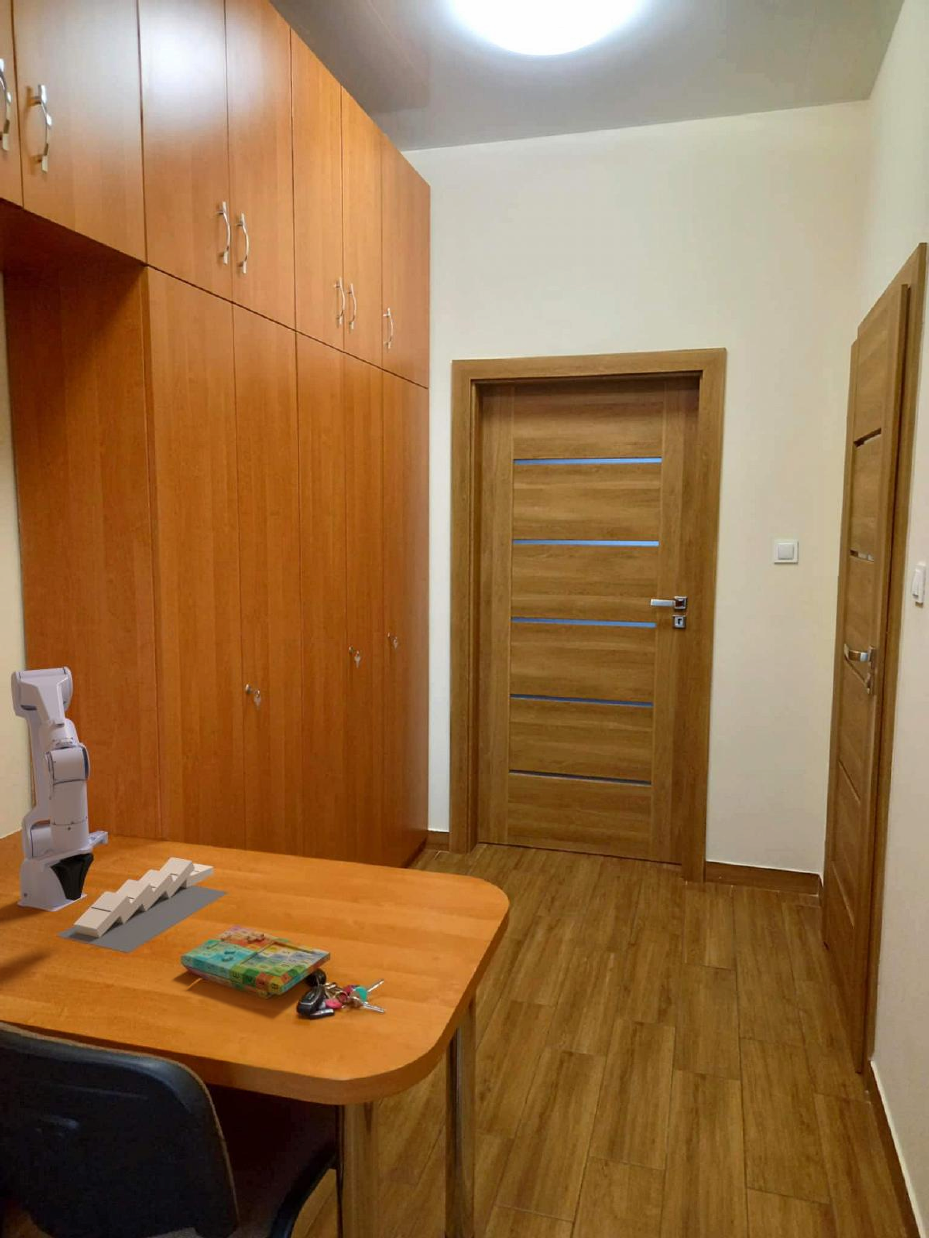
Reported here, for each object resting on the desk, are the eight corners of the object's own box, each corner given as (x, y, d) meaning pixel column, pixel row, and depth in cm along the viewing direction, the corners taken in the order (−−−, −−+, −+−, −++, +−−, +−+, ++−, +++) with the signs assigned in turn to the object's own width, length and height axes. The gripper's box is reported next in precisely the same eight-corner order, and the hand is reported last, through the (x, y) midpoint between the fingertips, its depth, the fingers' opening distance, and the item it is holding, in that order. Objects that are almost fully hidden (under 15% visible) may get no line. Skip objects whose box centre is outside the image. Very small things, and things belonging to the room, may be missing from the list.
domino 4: (166, 890, 165) (191, 860, 172) (145, 886, 167) (171, 856, 173) (169, 898, 166) (195, 868, 172) (148, 894, 168) (174, 864, 174)
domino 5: (186, 877, 170) (213, 866, 178) (166, 873, 172) (193, 862, 180) (186, 887, 170) (213, 876, 178) (165, 883, 172) (193, 873, 180)
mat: (55, 938, 151) (55, 935, 151) (162, 882, 175) (162, 879, 175) (128, 956, 145) (128, 952, 145) (228, 895, 169) (228, 892, 169)
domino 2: (120, 915, 155) (149, 883, 161) (98, 910, 157) (128, 878, 163) (124, 923, 156) (153, 891, 162) (102, 919, 157) (131, 887, 164)
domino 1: (96, 928, 150) (127, 895, 156) (73, 923, 151) (105, 890, 158) (99, 937, 150) (131, 903, 157) (77, 932, 152) (109, 899, 159)
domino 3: (142, 902, 160) (170, 873, 166) (121, 898, 162) (150, 869, 168) (145, 911, 161) (173, 881, 167) (124, 907, 162) (153, 877, 169)
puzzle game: (233, 920, 148) (330, 947, 139) (234, 947, 149) (330, 975, 139) (180, 950, 138) (281, 980, 128) (182, 978, 138) (282, 1011, 129)
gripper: (52, 836, 138) (56, 919, 140) (120, 809, 152) (123, 885, 153) (18, 831, 141) (23, 912, 142) (88, 804, 154) (92, 879, 156)
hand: (73, 898), depth 148 cm, fingers closed
